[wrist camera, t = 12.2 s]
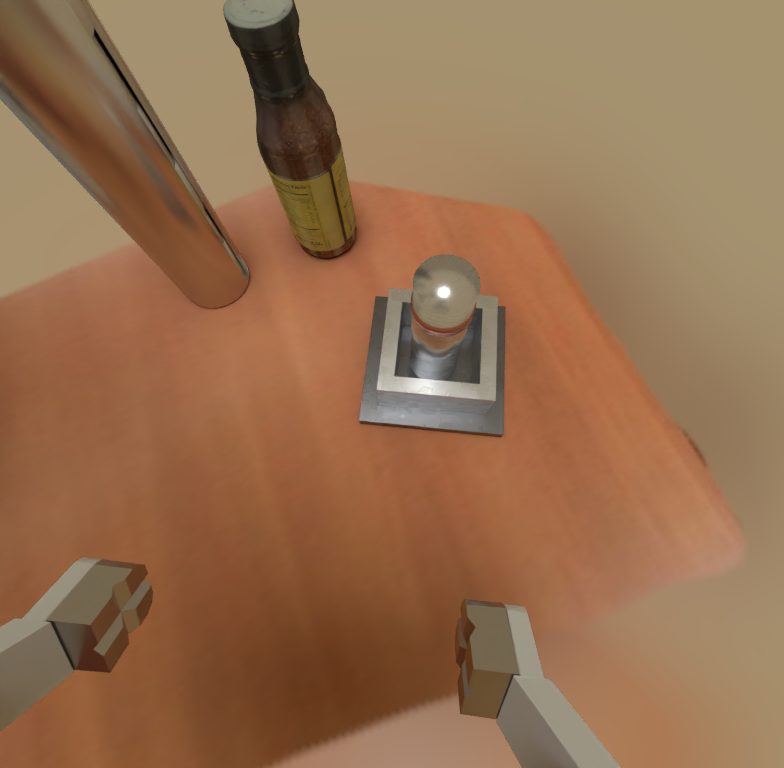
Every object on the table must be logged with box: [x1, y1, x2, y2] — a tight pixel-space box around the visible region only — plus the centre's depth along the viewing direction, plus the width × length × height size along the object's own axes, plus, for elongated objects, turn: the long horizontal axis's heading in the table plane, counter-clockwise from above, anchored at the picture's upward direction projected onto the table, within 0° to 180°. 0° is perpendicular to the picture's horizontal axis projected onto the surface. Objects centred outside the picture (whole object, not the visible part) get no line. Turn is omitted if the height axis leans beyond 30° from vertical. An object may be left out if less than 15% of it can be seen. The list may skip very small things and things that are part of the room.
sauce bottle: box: [223, 0, 356, 258], centre depth 32 cm, size 7×6×20 cm
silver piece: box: [0, 0, 250, 308], centre depth 28 cm, size 6×6×25 cm
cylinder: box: [410, 255, 480, 381], centre depth 29 cm, size 4×4×12 cm
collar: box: [359, 288, 505, 437], centre depth 34 cm, size 12×12×5 cm
